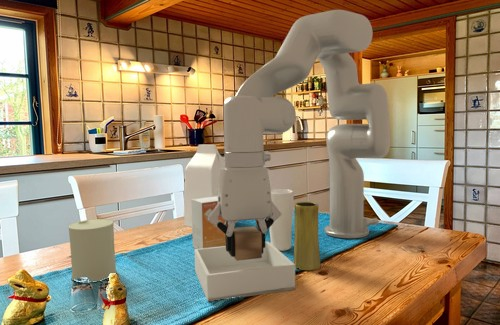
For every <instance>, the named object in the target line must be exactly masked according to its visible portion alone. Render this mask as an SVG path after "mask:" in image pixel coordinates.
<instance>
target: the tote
mask: <svg viewBox="0 0 500 325" xmlns="http://www.w3.org/2000/svg"><path fill="white" fill-rule="evenodd" d="M194 271H195V275H196V276H197V279H198V282H199V284H200V286H201V289H202V291H203V293H204V295H205V296H204V297H205V298H206V300H207V302H208V303H210V302H209V301H211V302H215V301H214V300H218V301H221V300H220V299H225V300H227V299H226V298H232V297H239V296H240V297H239V298H245V297H251V296H252V297H253V296H258V295H260V296H261V295H266V294H267V295H268V294H273V293H281V292H287V291H294V290H296V268H295V264H294V261H292V260H290V259H289V258H288V257H287V256H286V255H284V253H282V251H279V250H278V249H276V248H275V247H274V246H273V245H272V244H271V242H269V241H265V248H263V254H262V258H257V259H248V260H239V261H236V259H235V258H234V257H232V256H231V255H230V254H229V252H227V251H226V246H221V247H211V248H202V249H196V248H194ZM241 296H242V297H241ZM232 299H233V298H232Z"/></svg>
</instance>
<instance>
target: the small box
mask: <svg viewBox="0 0 500 325" xmlns="http://www.w3.org/2000/svg"><path fill="white" fill-rule="evenodd" d="M191 202H192V227H191V234H192V247H193V248H194V249H202V248H211V247H221V246H226V237H225V233H224V232H222V231H221V230H220V229H219V228H218V227H216V226H215V225H214V224H212V223H211V222H209V220H208V216H209V215H210V213H211V212H212V211H213V209H214V208H215V207H216V205H217V204H218V196H215V197H206V198H200V199H192V200H191ZM217 219H218V220H220V221H221V222H222V223H223V224H224V225H225V221H226V220H224V219H223V218H222V216H220V215H219V216H218V217H217Z"/></svg>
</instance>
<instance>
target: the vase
mask: <svg viewBox="0 0 500 325" xmlns="http://www.w3.org/2000/svg"><path fill="white" fill-rule="evenodd" d="M293 239H294V244H293V247H294V248H293V263H294V264H295V267H296V268H295V269H297V268H299V269H298V270H300V271H315V270H318V269H319V268H320V267H321V256H320V255H321V254H320V242H319V203H317V202H314V201H298V202H296V203H294V238H293Z"/></svg>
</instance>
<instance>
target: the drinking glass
mask: <svg viewBox="0 0 500 325" xmlns="http://www.w3.org/2000/svg"><path fill="white" fill-rule="evenodd" d="M271 199H272V202H273V204H274V205H275V206H276V207H277V208H278V210H279V211H280V212H281V216H280V217H279V218H278V219H277V220H276V221H274V223H273V224H272V225H271V226H270V228H269V229H268V230H269V237H270V243H271V244H272V245H273V246H274V247H275V248H276V249H278V250H279V251H280V252H284V251H288V250H290V249H291V248H292V233H293V220H294V209H295V203H294V201H295V200H294V191H293V190H291V189H282V188H281V189H280V188H278V189H276V188H275V189H271Z"/></svg>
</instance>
